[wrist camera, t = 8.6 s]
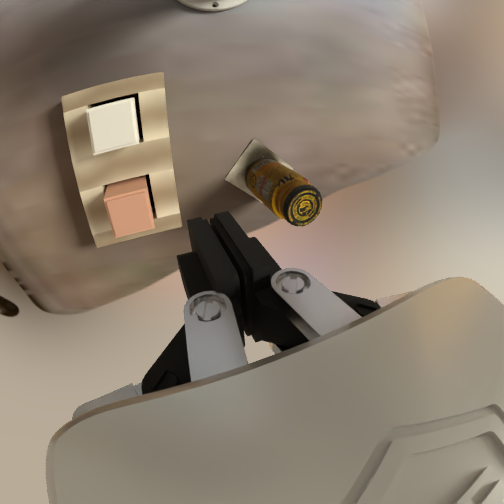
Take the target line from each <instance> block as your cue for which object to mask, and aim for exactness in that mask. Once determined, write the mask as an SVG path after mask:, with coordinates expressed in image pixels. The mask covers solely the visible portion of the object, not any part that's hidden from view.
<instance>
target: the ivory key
mask: <svg viewBox="0 0 504 504" xmlns="http://www.w3.org/2000/svg"><path fill="white" fill-rule="evenodd" d="M86 112H87V120H88V126H89V133H90V139H91V144H92V150H93V155H97V154H100V153H104V152H108V151H111V150H115V149H119V148H123V147H127V146H132V145H136V144H139V130H138V123H137V114H136V105H135V98H129V99H125V100H120V101H116V102H112V103H108V104H104V105H100V106H97V107H93V108H90V109H86Z"/></svg>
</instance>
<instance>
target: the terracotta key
mask: <svg viewBox="0 0 504 504" xmlns="http://www.w3.org/2000/svg"><path fill="white" fill-rule="evenodd" d="M104 203H105V207H106V210H107V214H108V218H109V221H110V224H111V228H112V231H113V234H114V238H118V237H122V236H126V235H130V234H133V233H137V232H141V231H145V230H149V229H153V228H155V225H154V219H153V213H152V207H151V202H150V197H149V192H148V187H147V181H146V176H145V175H143V176H138V177H134V178H130V179H126V180H122V181H118V182H114V183H111V184H108V185H107V189H106V192H105V196H104Z"/></svg>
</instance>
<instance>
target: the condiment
mask: <svg viewBox="0 0 504 504" xmlns="http://www.w3.org/2000/svg"><path fill="white" fill-rule="evenodd" d="M263 156H264V157H263ZM292 170H293V168H292V167H290V166H289V165H288V164H287V163H285V162H284V161H283V160H282V159H280V158H279V157H278V156H277V155H275V154H274V153H273V152H272V151H270V150H269V149H268V148H266V147H265V146H264V145H262V144H261V143H260V142H258V141H257V140H256V139H254V140H253V141H252V142H251V143H250V145H249V146H248V147H247V149H246V150H245V151H244V153H243V154H242V155H241V157H240V158H239V160H238V161H237V162H236V164H235V165H234V167H233V168H232V169H231V171H230V172H229V174H228V175H227V177H226V178H225V180H226V181H228V182H230V183H231V184H233V185H235V186H236V187H238V188H239V189H241V190H243V191H244V192H246V193H248V194H249V195H251V196H252V197H254V198H256V199H257V200H259V201H260V202H262V203H263V204H265V205H266V206H267V207H268V208H269V209H270V210H271V211H272V212H273V213H274V214H275V215H277V216H278V217H280V218H282V219H285V220H287V221H288V222H289V223H290V224H292V225H295V226H305V225H307V224H309V223H311V222H312V221H313V220H314V219H315V218H316V217H317V216H318V214H319V213H320V210H321V207H322V197H321V195H320V192H319V191H318V190H317V189H316V188H314V186H312V185H311V184H310V183H309V181H308V180H307V179H306V178H304V177H303V176H301V175H299V174H298V173H296V172H294V171H292ZM243 172H244V175H245V177H244V175H243Z"/></svg>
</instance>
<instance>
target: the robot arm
mask: <svg viewBox="0 0 504 504" xmlns="http://www.w3.org/2000/svg"><path fill="white" fill-rule="evenodd" d="M178 1H179V2H180V3H182V4H184V5H186V6H188V7H191V8H194V9H197V10H203V11H225V10H228V9H232V8H235V7H237V6H240V5H241V4H243V3H245V2H246V1H247V0H178ZM212 5H214V6H215V7H213V6H212ZM187 223H188V230H189V236H190V241H191V247H192V252H189V253H185V254H181V255H177V260H178V265H179V269H180V273H181V277H182V281H183V285H184V288H185V292H186V295H187V298H188V301H187V302H186V304H185V306H184V320H185V324H184V325H183V326H182V328H181V329H180V330H179V332H178V333H177V334H176V336H175V337H174V338H173V339H172V341H171V342H170V343H169V345H168V346H167V347H166V349H165V350H164V351H163V352H162V354H161V355H160V356H159V358H158V359H157V360H156V362H155V363H154V364H153V365H152V367H151V368H150V369H149V371H148V372H147V374H146V375H145V377H144V379H143V380H142V382H141V383H139V384H137V385H135V386H133V384H129V385H127V386H125V387H122V388H120V389H118V390H115V391H113V392H111V393H109V394H106V395H104V396H101V397H99V398H97V399H94V400H92V401H89V402H87V403H85V404H82V405H81V406H79V407H78V408H77V409H76V411H75V412H74V414H73V418H72V420H71V421H69V422H68V423H66V424H65V425H64V426H62V427H61V428H60V429H59V430H58V431H57V432H56V433H55V434H54V436H53V437H52V438H51V440H50V443H49V445H48V449H47V456H46V481H47V492H48V497H49V503H50V504H504V305H503V304H502V303H501V302H500V301H499V300H498V299H497V298H495V297H494V296H493V295H492V294H491V293H490V292H489V291H487V290H486V289H485V288H484V287H482V286H481V285H480V284H478V283H477V282H475V281H474V280H472V279H469V278H464V277H453V278H446V279H442V280H439V281H436V282H433V283H430V284H428V285H426V286H424V287H421V288H420V289H417V290H415V291H413V292H407V293H403V294H399V295H394V296H390V297H385V298H381V299H376V301H375V302H373V301H371V300H368V299H365V298H360V297H355V296H351V295H347V294H342V293H338V292H333V291H330V290H329V289H328V288H326V287H325V286H324V285H323V284H322V283H320V282H319V281H318V280H317V279H316V278H315V277H313V276H312V275H311V274H309V273H308V272H306V271H304V270H301V269H297V268H286V269H283V270H282V269H281V268H280V267H279V265H278V264H277V263H276V262H275V260H274V259H273V258H272V257H271V256H270V254H269V253H268V252H267V251H266V249H265V248H264V247H263V246H262V244H261V243H260V242H259V241H258V240H257V238H255V237H252V238H249V237H248V236H247V235H246V234H245V232H244V231H243V230H242V228H241V227H240V226H239V224H238V223H237V222H236V221H235V219H234V218H233V217H232V215H231V214H230V213H229V212H228V211H227V212H222V213H217V214H215V215H214V218H211V219H210V224H209V222H208V221H207V219H206V220H202V218H201V217H199V218H195V219H190V220H187ZM210 225H211V226H210ZM244 331H245V333H246V335H247V336H250V335H252V337H253V339H254V340H255V342H258V341H261V340H263V341H266V342H269V343H270V347H271V349H272V350H273V351H274V353H275V355H272V356H270V357H267V358H264V359H261V360H259V361H256V362H253V363H250V364H248V361H247V357H246V354H245V350H244V347H245V340H244Z"/></svg>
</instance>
